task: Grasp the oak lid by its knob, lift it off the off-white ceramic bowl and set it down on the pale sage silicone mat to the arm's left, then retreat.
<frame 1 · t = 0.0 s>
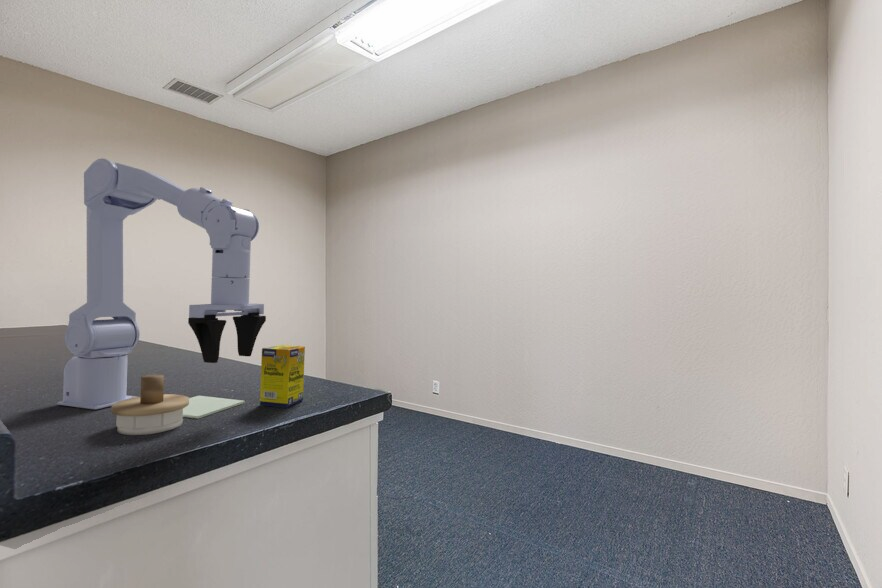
hand: (228, 359, 71), 10 cm above the counter, fingers open, 7 cm apart
mat: (198, 407, 77), on the counter
lid: (151, 406, 66), point 3 cm above the counter, touching bowl
supplement box: (282, 404, 82), on the counter
bowl: (151, 426, 66), on the counter
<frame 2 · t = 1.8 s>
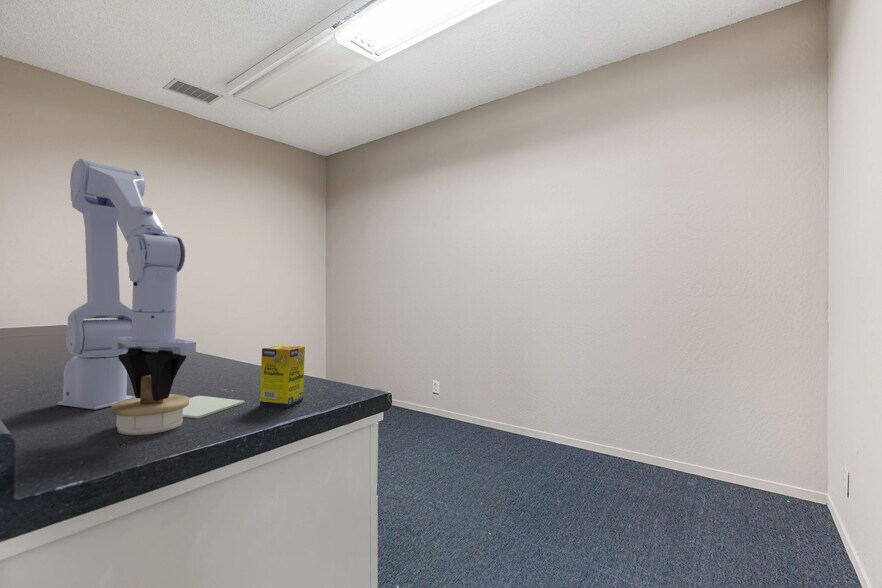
hand: (152, 398, 66), 4 cm above the counter, fingers closed on lid, 3 cm apart
lid: (151, 406, 66), point 3 cm above the counter, touching bowl, gripper
everything else where it was.
when the fingers open (3 cm above the counter, at t = 5.1 s): lid stays where it is, resting on mat.
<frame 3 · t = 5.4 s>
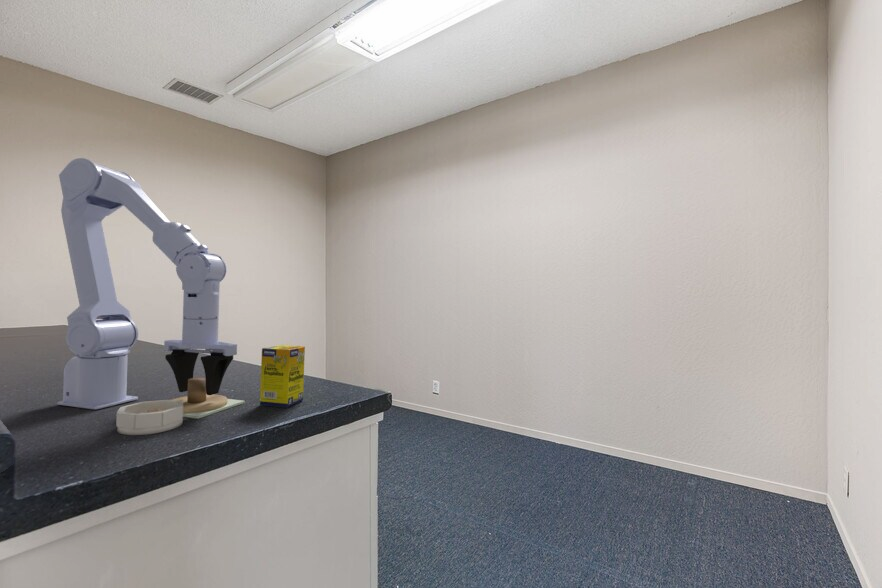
hand: (198, 392, 77), 3 cm above the counter, fingers open, 6 cm apart
lid: (196, 405, 77), resting on mat
everything else where it was.
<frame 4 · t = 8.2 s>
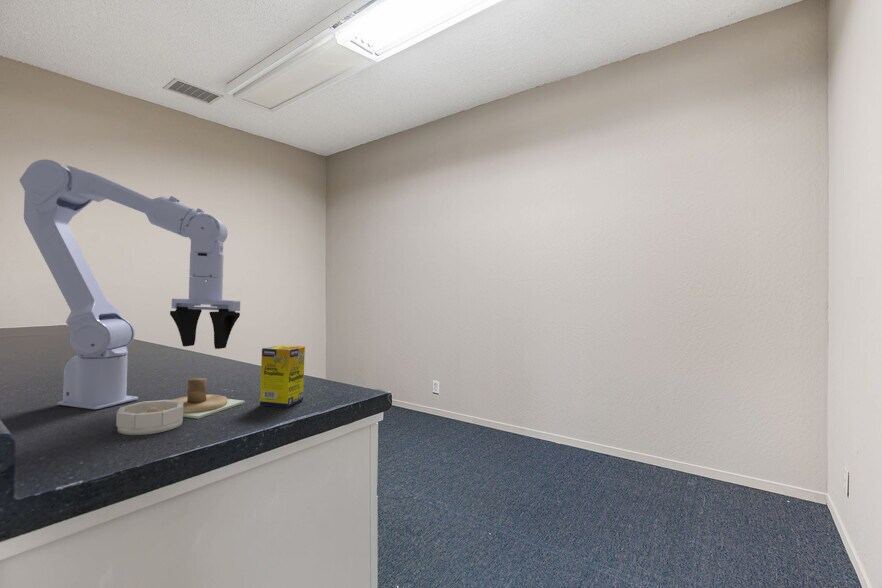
hand: (204, 347, 82), 10 cm above the counter, fingers open, 7 cm apart
nothing on the counter moved.
at the end: lid 0.4 cm from the mat (horizontally); lid resting on mat; lid touching mat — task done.
